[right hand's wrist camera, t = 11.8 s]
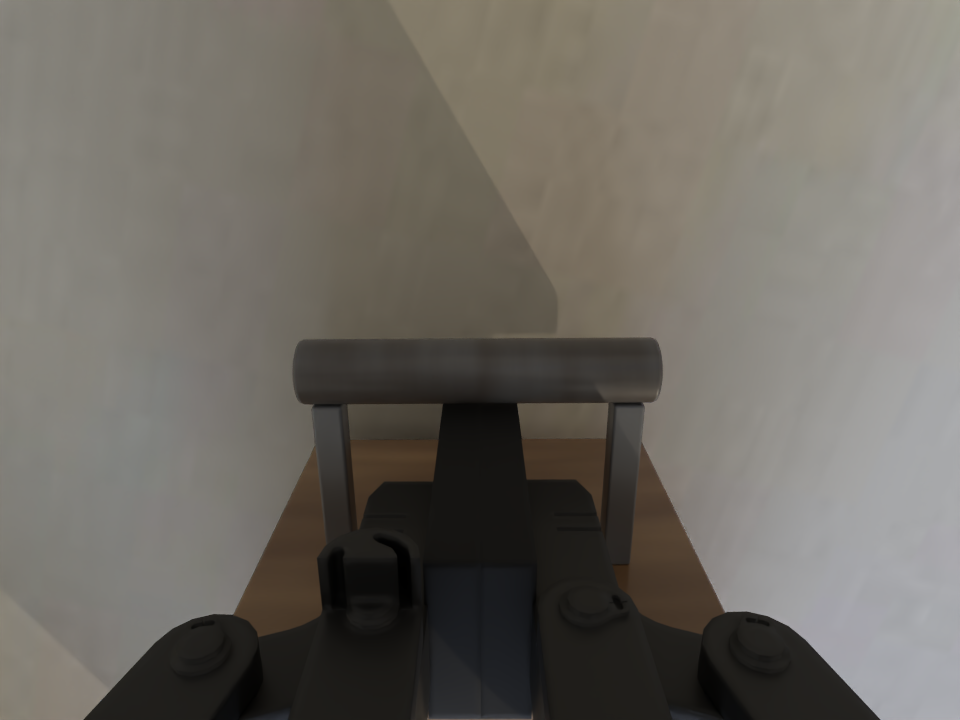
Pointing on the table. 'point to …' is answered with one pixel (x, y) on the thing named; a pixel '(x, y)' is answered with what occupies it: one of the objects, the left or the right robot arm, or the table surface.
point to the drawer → (592, 462)
